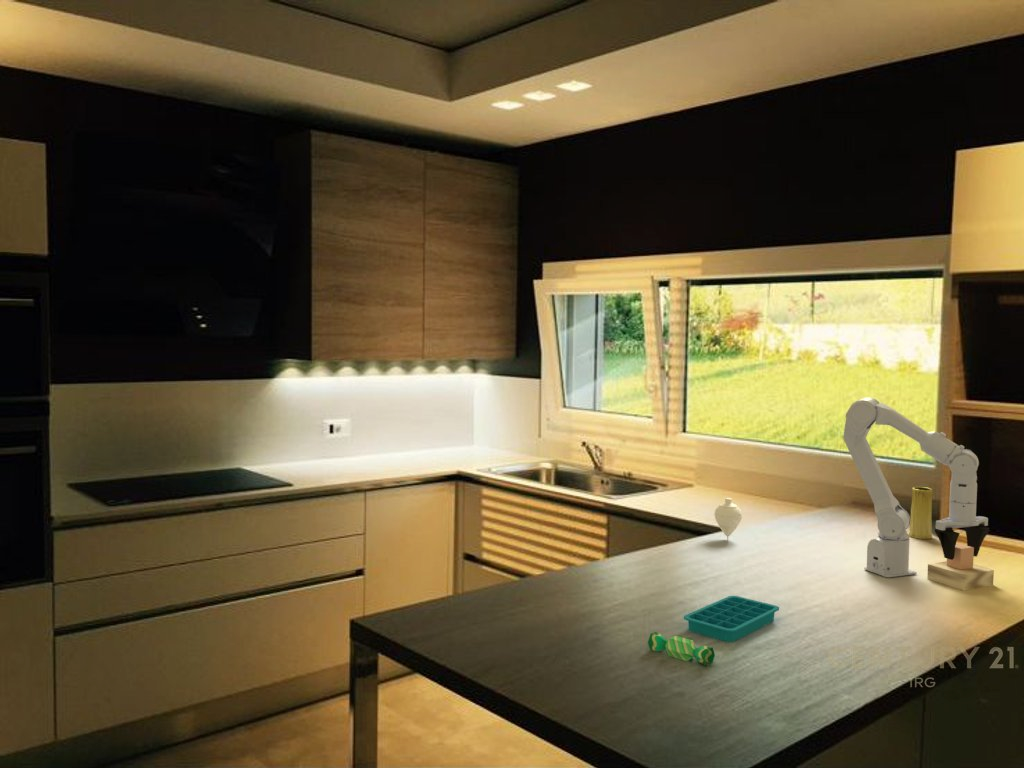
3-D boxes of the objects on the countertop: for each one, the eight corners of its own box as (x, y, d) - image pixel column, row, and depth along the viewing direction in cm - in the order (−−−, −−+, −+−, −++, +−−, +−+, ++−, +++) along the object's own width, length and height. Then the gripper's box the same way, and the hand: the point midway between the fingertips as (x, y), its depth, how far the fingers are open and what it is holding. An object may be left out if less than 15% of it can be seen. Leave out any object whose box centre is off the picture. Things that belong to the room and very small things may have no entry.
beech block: (963, 591, 199) (964, 575, 199) (927, 580, 208) (927, 564, 208) (993, 586, 204) (993, 570, 203) (956, 575, 213) (956, 559, 212)
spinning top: (708, 538, 248) (709, 497, 247) (729, 535, 251) (730, 494, 250) (725, 544, 241) (726, 502, 240) (747, 541, 244) (748, 499, 243)
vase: (927, 534, 252) (929, 486, 251) (935, 539, 246) (937, 490, 245) (905, 533, 253) (907, 486, 252) (913, 539, 247) (915, 490, 246)
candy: (645, 648, 161) (652, 627, 163) (653, 653, 164) (660, 633, 165) (702, 665, 153) (709, 643, 155) (710, 670, 156) (716, 649, 157)
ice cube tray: (680, 631, 173) (680, 617, 173) (731, 608, 188) (732, 594, 187) (732, 646, 165) (732, 631, 165) (781, 621, 179) (781, 607, 179)
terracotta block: (960, 569, 203) (961, 548, 203) (946, 565, 207) (947, 544, 207) (973, 568, 205) (973, 547, 205) (959, 563, 209) (960, 543, 208)
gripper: (953, 506, 198) (951, 564, 199) (1000, 502, 203) (997, 558, 204) (929, 500, 205) (927, 556, 206) (974, 496, 210) (972, 551, 211)
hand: (960, 557), depth 206 cm, fingers open, 7 cm apart
